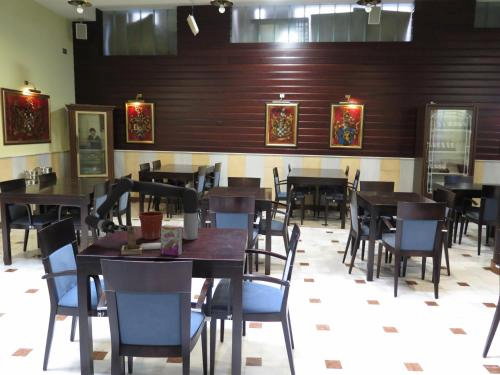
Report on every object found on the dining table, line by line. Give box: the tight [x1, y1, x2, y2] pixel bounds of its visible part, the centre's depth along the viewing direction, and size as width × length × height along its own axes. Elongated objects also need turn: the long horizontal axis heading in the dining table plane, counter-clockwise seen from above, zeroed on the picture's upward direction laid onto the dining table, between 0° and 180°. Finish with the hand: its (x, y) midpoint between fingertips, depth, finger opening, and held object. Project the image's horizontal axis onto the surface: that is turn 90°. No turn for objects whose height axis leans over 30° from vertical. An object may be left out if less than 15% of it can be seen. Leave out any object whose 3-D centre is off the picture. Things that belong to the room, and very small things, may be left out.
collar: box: [120, 244, 143, 256], centre depth 244 cm, size 11×11×2 cm
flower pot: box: [137, 211, 165, 241], centre depth 277 cm, size 16×16×16 cm
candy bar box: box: [160, 224, 183, 257], centre depth 239 cm, size 11×5×16 cm, turn 74°
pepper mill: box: [126, 225, 137, 250], centre depth 243 cm, size 5×5×15 cm
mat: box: [140, 242, 161, 250], centre depth 256 cm, size 12×12×1 cm
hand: (120, 230), depth 250 cm, fingers open, 8 cm apart
